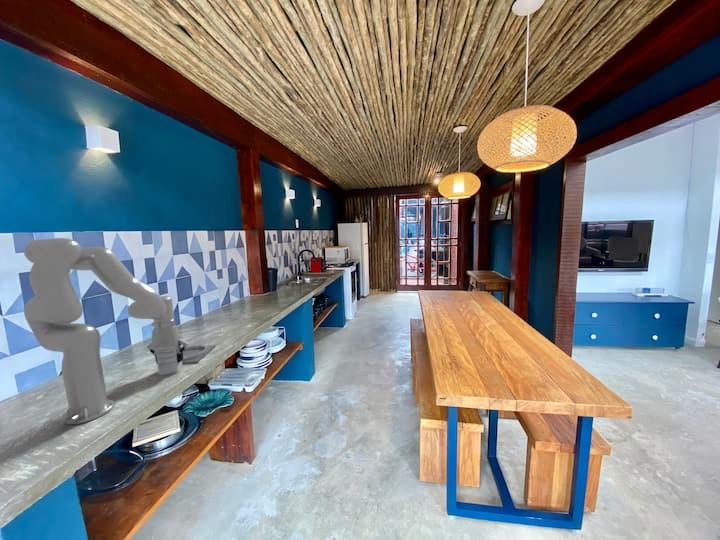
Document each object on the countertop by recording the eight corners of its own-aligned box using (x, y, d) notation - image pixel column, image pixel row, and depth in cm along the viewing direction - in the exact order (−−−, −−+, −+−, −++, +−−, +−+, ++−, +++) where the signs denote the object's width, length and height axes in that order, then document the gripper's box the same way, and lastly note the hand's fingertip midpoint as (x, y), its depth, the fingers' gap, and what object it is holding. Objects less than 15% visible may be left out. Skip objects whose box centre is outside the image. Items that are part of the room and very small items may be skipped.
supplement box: (164, 368, 130) (160, 342, 129) (182, 365, 132) (179, 339, 131) (158, 376, 123) (154, 348, 122) (177, 372, 125) (174, 345, 124)
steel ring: (199, 359, 137) (199, 356, 137) (165, 361, 135) (165, 358, 135) (212, 346, 152) (212, 343, 152) (182, 348, 151) (182, 346, 150)
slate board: (198, 363, 135) (197, 361, 134) (162, 365, 133) (162, 363, 133) (215, 346, 154) (215, 344, 154) (184, 349, 153) (184, 347, 153)
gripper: (138, 328, 121) (143, 367, 123) (181, 325, 122) (186, 364, 125) (149, 323, 128) (154, 360, 130) (189, 320, 130) (194, 356, 132)
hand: (169, 361), depth 127 cm, fingers closed on supplement box, 8 cm apart
